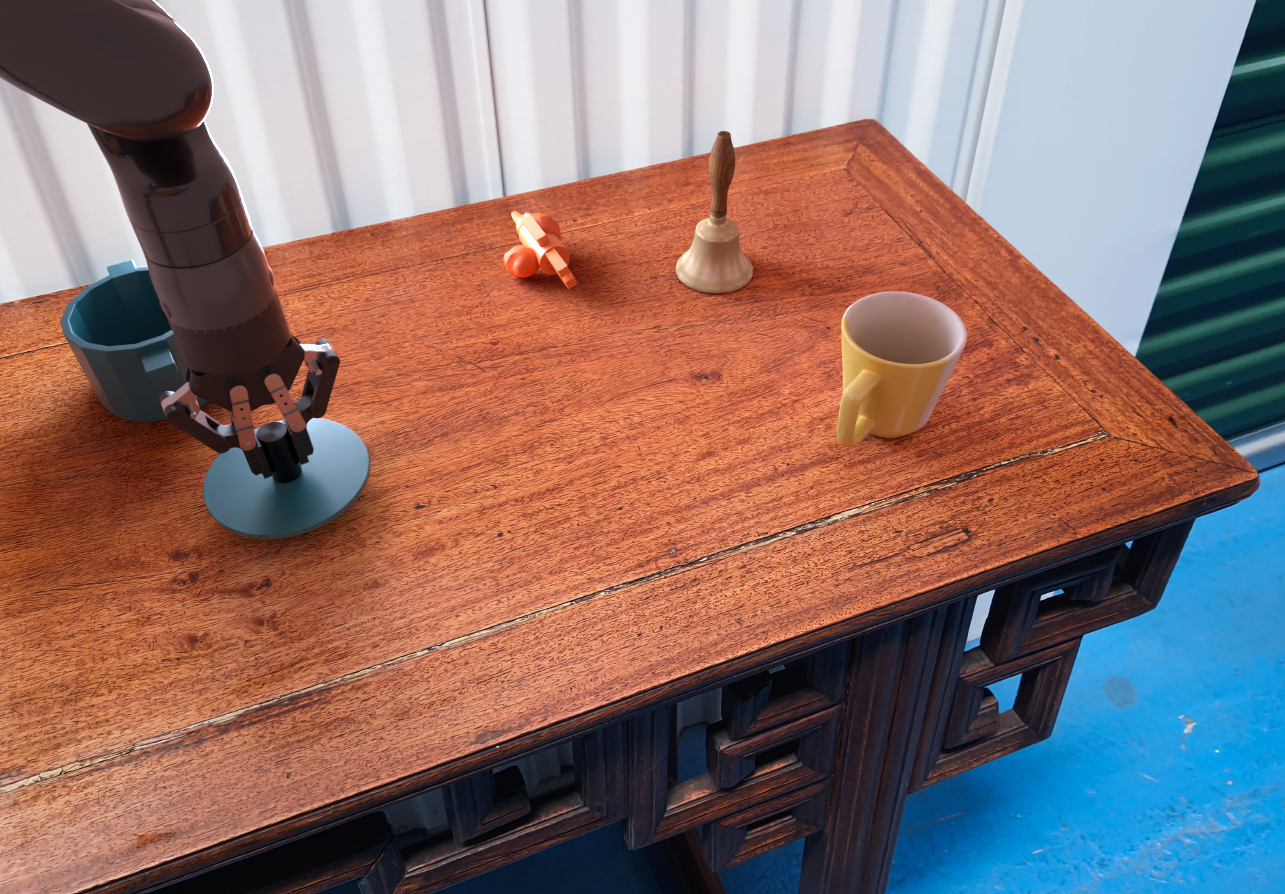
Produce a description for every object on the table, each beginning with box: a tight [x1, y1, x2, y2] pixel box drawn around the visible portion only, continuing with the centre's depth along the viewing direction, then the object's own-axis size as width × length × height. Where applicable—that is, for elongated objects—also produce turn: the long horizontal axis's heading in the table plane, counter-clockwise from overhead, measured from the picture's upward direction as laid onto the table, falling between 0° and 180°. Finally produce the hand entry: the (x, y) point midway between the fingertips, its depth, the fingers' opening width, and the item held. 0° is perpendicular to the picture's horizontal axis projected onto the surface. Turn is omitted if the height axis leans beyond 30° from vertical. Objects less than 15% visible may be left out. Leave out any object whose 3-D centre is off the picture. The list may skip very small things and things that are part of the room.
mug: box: [835, 290, 968, 448], centre depth 86 cm, size 14×10×10 cm
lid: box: [202, 418, 371, 540], centre depth 81 cm, size 13×13×6 cm
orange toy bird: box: [503, 210, 578, 290], centre depth 105 cm, size 5×8×12 cm
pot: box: [59, 259, 210, 423], centre depth 92 cm, size 12×18×8 cm
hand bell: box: [675, 130, 754, 294], centre depth 100 cm, size 8×8×16 cm
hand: (283, 463), depth 82 cm, fingers closed on lid, 2 cm apart
